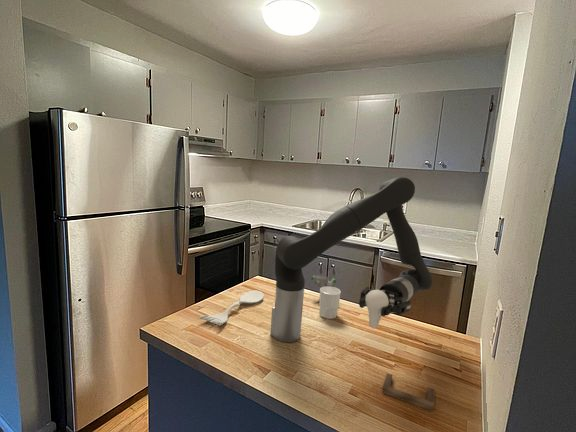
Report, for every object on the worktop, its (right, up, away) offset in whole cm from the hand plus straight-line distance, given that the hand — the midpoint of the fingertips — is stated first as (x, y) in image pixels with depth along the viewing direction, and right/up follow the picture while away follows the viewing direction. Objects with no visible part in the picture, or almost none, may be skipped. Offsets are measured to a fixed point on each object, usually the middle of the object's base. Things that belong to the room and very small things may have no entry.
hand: (371, 308), depth 83 cm
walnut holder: (+9, -21, -3) cm, 23 cm away
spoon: (-42, -12, +36) cm, 57 cm away
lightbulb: (+1, -7, +3) cm, 7 cm away
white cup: (-7, -14, +37) cm, 40 cm away
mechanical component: (-8, -11, +51) cm, 53 cm away
